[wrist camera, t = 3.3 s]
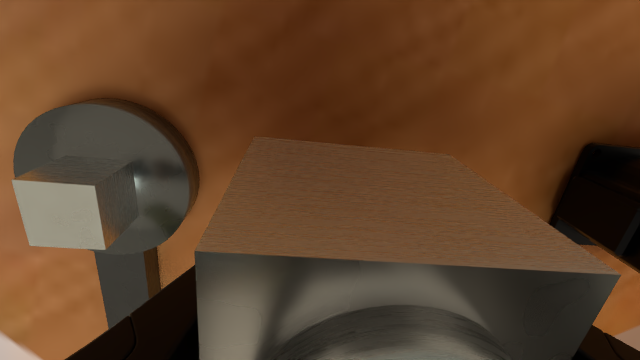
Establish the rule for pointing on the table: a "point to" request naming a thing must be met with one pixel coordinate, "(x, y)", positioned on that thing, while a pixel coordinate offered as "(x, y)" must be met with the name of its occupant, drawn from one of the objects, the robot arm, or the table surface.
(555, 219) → the robot arm
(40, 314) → the table surface
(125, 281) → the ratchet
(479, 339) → the block with round boss
